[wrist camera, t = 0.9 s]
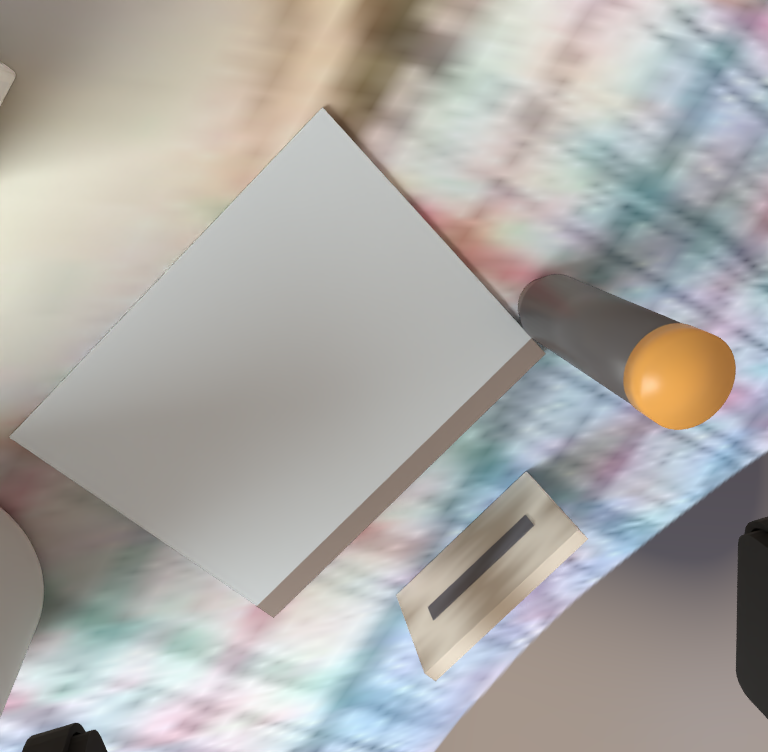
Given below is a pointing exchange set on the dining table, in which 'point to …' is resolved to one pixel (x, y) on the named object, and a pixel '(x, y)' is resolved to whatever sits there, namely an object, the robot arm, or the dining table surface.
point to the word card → (486, 573)
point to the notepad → (285, 374)
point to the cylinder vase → (16, 600)
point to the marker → (631, 350)
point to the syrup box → (5, 80)
